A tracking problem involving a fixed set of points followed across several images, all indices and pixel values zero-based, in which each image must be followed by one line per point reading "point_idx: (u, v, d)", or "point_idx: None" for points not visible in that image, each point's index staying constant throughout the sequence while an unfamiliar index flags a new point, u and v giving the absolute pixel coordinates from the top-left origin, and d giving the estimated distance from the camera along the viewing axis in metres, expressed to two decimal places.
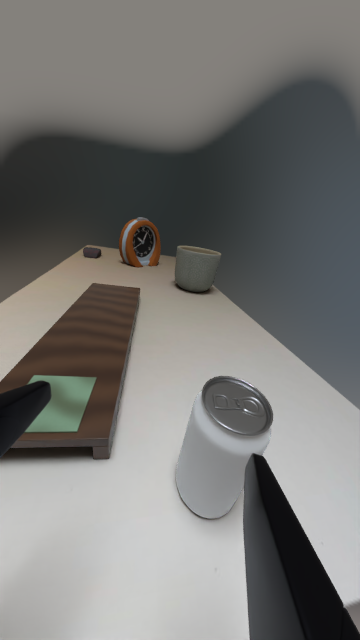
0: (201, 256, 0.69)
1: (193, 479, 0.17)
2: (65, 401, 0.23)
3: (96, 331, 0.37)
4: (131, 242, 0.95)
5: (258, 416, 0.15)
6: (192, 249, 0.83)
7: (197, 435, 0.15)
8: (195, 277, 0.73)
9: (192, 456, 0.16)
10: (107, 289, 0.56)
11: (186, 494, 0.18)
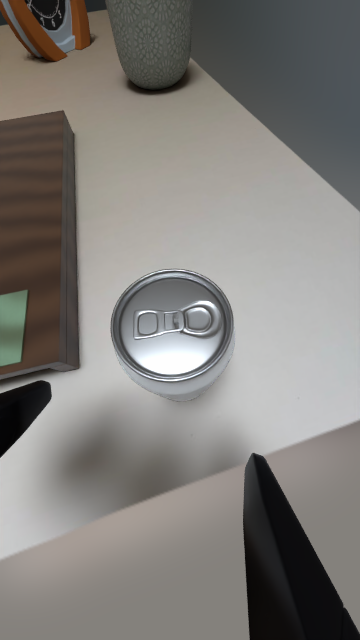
0: None
1: None
2: None
3: (12, 218, 0.25)
4: None
5: (208, 337, 0.09)
6: None
7: None
8: (152, 48, 0.39)
9: None
10: (12, 131, 0.34)
11: None
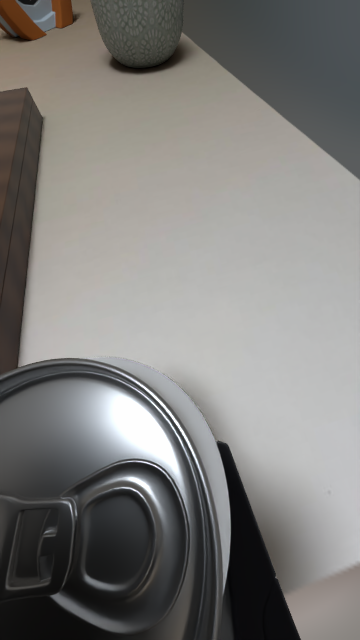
0: None
1: None
2: None
3: None
4: None
5: (138, 634, 0.03)
6: None
7: None
8: (136, 13, 0.32)
9: None
10: None
11: None
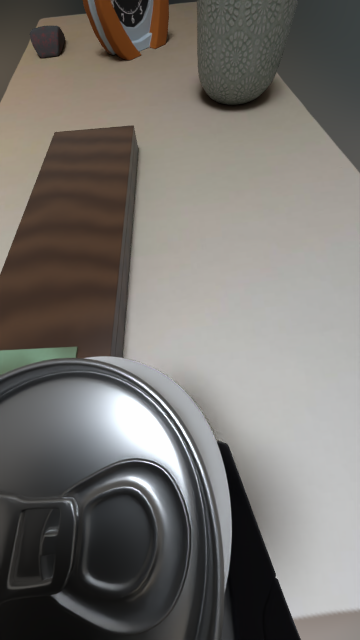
0: None
1: None
2: None
3: (69, 251, 0.24)
4: None
5: (140, 632, 0.03)
6: None
7: None
8: (239, 62, 0.35)
9: None
10: (79, 144, 0.33)
11: None
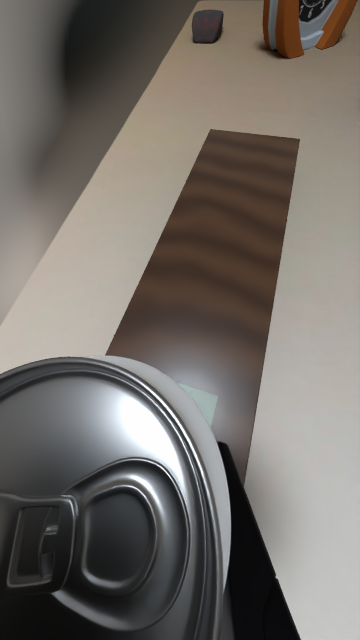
0: None
1: None
2: None
3: (216, 274, 0.21)
4: None
5: (139, 630, 0.03)
6: None
7: None
8: None
9: None
10: (236, 149, 0.30)
11: None
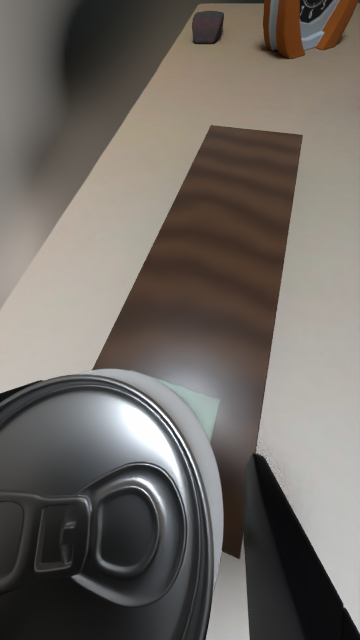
0: None
1: None
2: None
3: (217, 270, 0.20)
4: None
5: (145, 606, 0.03)
6: None
7: None
8: None
9: None
10: (237, 144, 0.29)
11: None
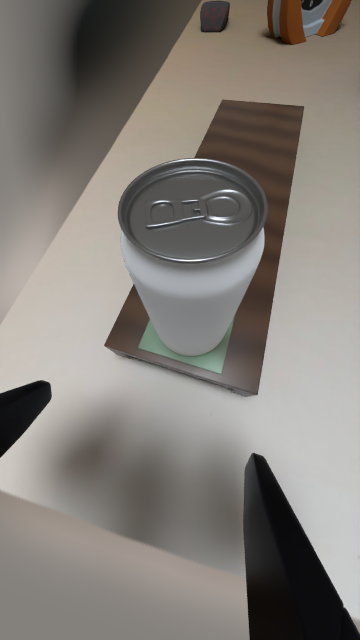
0: None
1: (162, 331, 0.13)
2: None
3: None
4: None
5: (236, 223, 0.07)
6: None
7: (135, 283, 0.09)
8: None
9: (147, 310, 0.11)
10: (246, 115, 0.33)
11: (165, 342, 0.16)
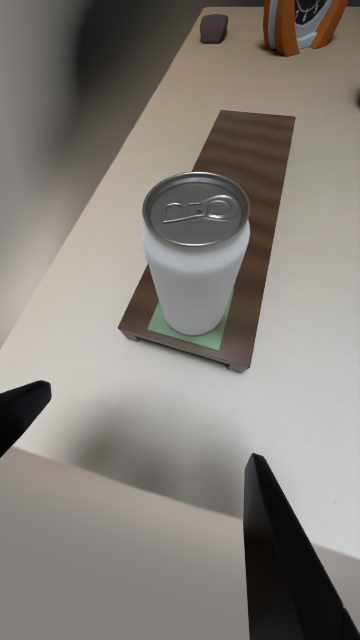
0: None
1: (169, 310, 0.16)
2: None
3: None
4: None
5: (228, 219, 0.10)
6: None
7: (152, 266, 0.12)
8: None
9: (159, 290, 0.14)
10: (243, 124, 0.36)
11: (171, 323, 0.19)
